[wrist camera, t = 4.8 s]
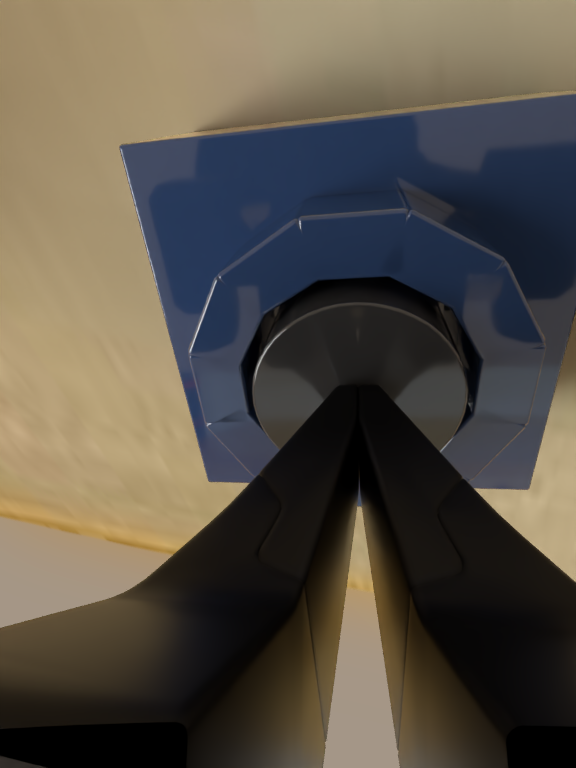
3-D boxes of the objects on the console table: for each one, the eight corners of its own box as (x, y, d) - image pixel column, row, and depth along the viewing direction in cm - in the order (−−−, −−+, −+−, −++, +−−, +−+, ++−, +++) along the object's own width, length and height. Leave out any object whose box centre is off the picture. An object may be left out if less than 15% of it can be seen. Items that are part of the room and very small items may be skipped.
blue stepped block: (488, 398, 17) (556, 551, 11) (240, 400, 19) (187, 534, 13) (540, 92, 12) (717, 80, 6) (190, 132, 14) (62, 154, 8)
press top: (442, 427, 12) (456, 483, 10) (278, 426, 12) (265, 478, 11) (459, 261, 9) (482, 297, 8) (256, 273, 10) (236, 308, 8)
